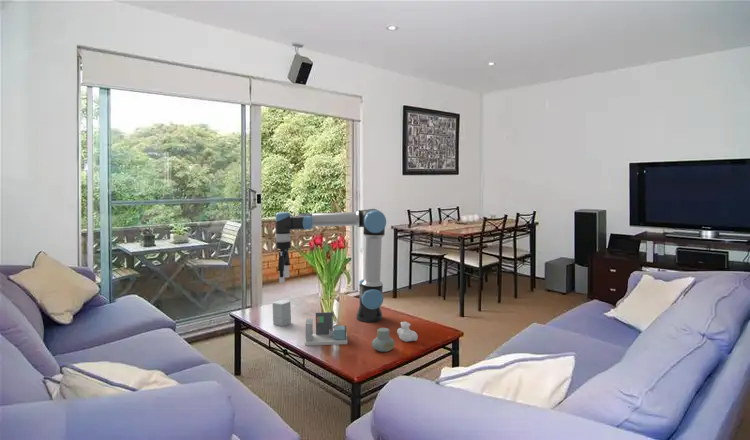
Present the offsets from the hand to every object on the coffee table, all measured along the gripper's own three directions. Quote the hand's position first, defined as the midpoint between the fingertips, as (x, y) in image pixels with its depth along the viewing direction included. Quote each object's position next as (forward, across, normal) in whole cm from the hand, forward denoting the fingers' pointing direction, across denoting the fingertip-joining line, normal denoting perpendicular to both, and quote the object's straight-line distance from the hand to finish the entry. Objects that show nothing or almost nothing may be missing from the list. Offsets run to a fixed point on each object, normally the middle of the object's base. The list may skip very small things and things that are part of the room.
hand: (284, 280), depth 248 cm
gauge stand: (+27, +18, +24) cm, 40 cm away
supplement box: (+28, -9, -4) cm, 29 cm away
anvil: (+26, +19, +16) cm, 36 cm away
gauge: (+26, +17, +30) cm, 43 cm away
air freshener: (+28, +30, +52) cm, 67 cm away
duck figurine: (+28, +18, +64) cm, 73 cm away
